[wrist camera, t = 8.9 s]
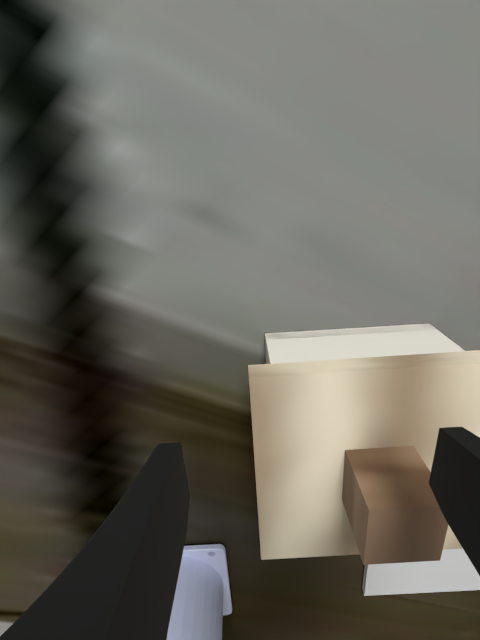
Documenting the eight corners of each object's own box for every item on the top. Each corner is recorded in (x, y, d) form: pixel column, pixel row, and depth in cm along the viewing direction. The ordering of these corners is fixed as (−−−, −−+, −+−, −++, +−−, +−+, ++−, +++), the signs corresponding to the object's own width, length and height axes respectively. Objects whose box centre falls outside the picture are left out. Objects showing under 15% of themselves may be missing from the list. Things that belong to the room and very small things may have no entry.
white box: (269, 459, 23) (277, 522, 18) (264, 333, 19) (272, 377, 15) (408, 451, 22) (447, 513, 18) (429, 323, 19) (483, 364, 15)
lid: (259, 541, 19) (265, 629, 15) (248, 365, 15) (252, 428, 11) (463, 529, 19) (518, 615, 15) (509, 348, 15) (602, 406, 11)
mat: (362, 588, 28) (364, 595, 27) (376, 464, 23) (379, 470, 22) (525, 580, 28) (530, 587, 27) (576, 453, 23) (583, 459, 22)
